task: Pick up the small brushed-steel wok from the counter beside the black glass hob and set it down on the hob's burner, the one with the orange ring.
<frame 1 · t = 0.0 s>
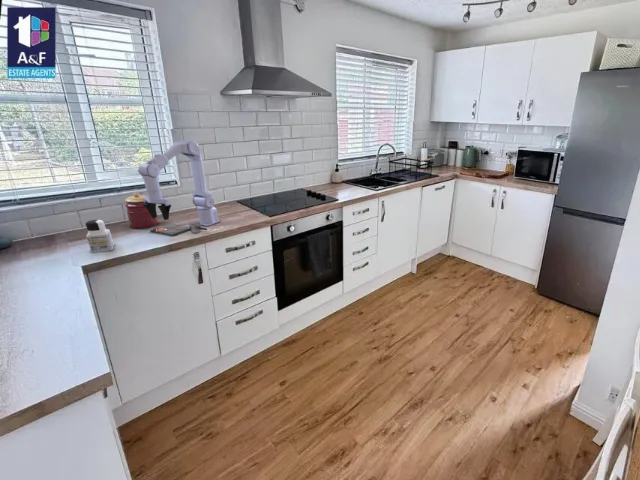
hand: (160, 218, 178), 10 cm above the countertop, tool pointing down, fingers open, 7 cm apart
wok: (196, 232, 193), on the countertop
container: (103, 248, 168), on the countertop
kitchen canister: (144, 225, 200), on the countertop
hob: (171, 230, 194), on the countertop
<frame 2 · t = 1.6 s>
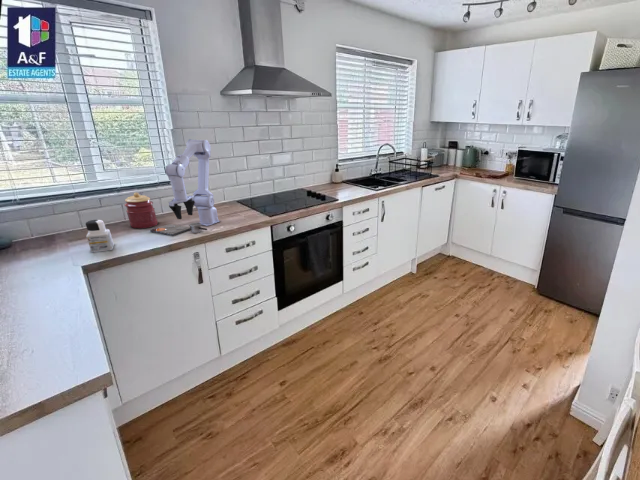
hand: (185, 216, 186), 9 cm above the countertop, tool pointing down, fingers open, 7 cm apart
nothing on the countertop moved.
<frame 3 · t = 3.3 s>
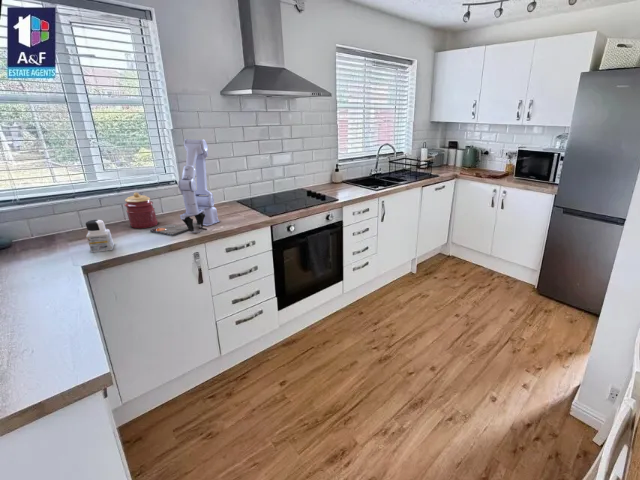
hand: (196, 229, 192), 1 cm above the countertop, tool pointing down, fingers closed on wok, 6 cm apart
wok: (196, 232, 193), on the countertop, touching gripper
everything else where it was.
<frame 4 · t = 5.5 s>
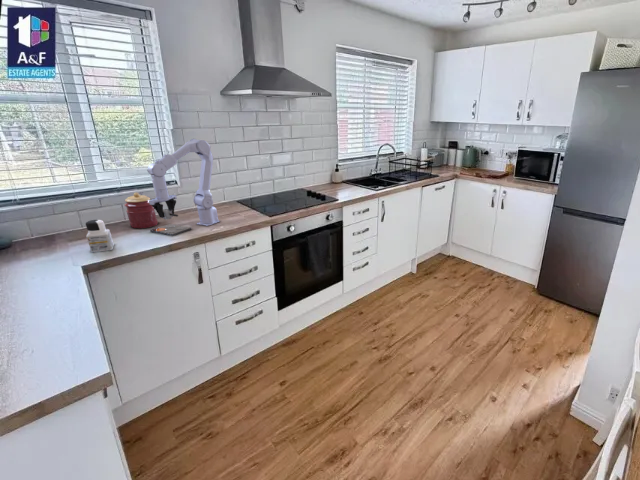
hand: (167, 215, 188), 8 cm above the countertop, tool pointing down, fingers closed on wok, 5 cm apart
wok: (167, 218, 189), point 7 cm above the countertop, touching gripper
everything else where it was.
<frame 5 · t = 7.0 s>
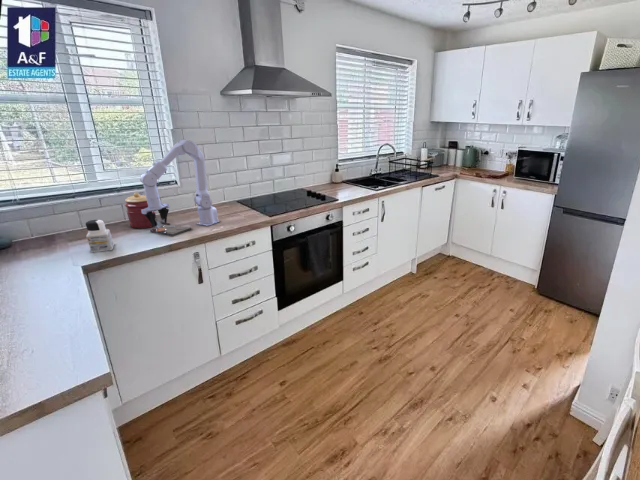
hand: (159, 224, 190), 4 cm above the countertop, tool pointing down, fingers closed on wok, 5 cm apart
wok: (160, 227, 191), point 2 cm above the countertop, touching gripper
everything else where it was.
when the fingers open (2 cm above the countertop, at t = 8.0 s): wok stays where it is, resting on hob.
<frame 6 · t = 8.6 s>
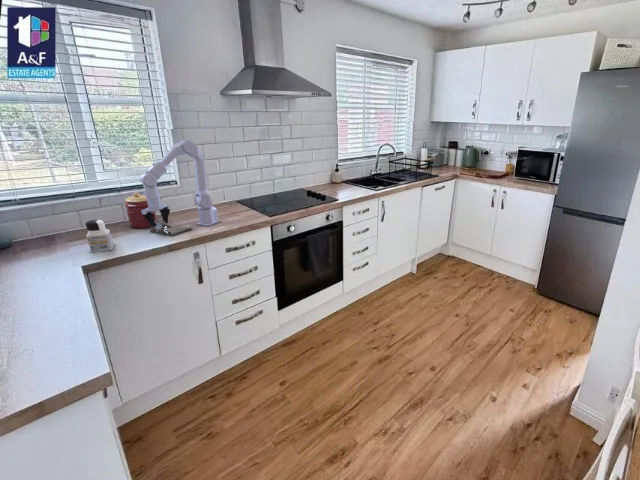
hand: (159, 224, 190), 4 cm above the countertop, tool pointing down, fingers open, 7 cm apart
wok: (160, 229, 191), point 1 cm above the countertop, touching hob
everything else where it was.
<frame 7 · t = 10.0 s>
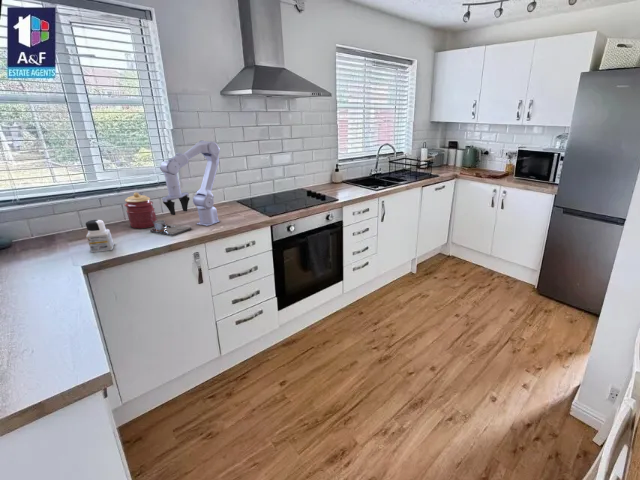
hand: (179, 213, 190), 9 cm above the countertop, tool pointing down, fingers open, 7 cm apart
nothing on the countertop moved.
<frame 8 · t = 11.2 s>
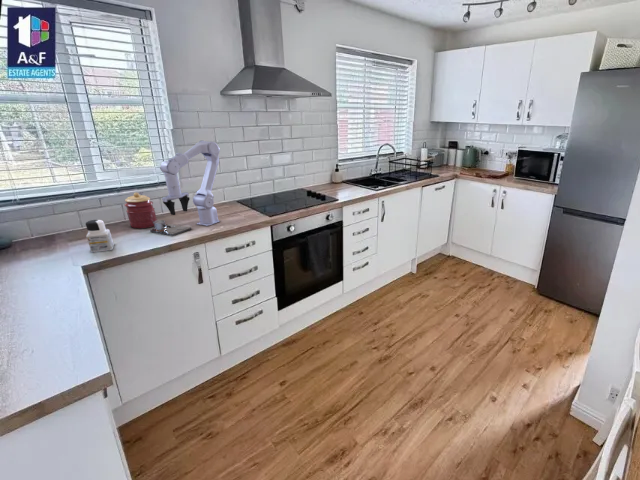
hand: (179, 213, 190), 9 cm above the countertop, tool pointing down, fingers open, 7 cm apart
nothing on the countertop moved.
at the end: wok 0.1 cm from the target spot on the hob, point 1.1 cm above the hob's base; wok tilted 0°; the gripper is holding nothing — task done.
